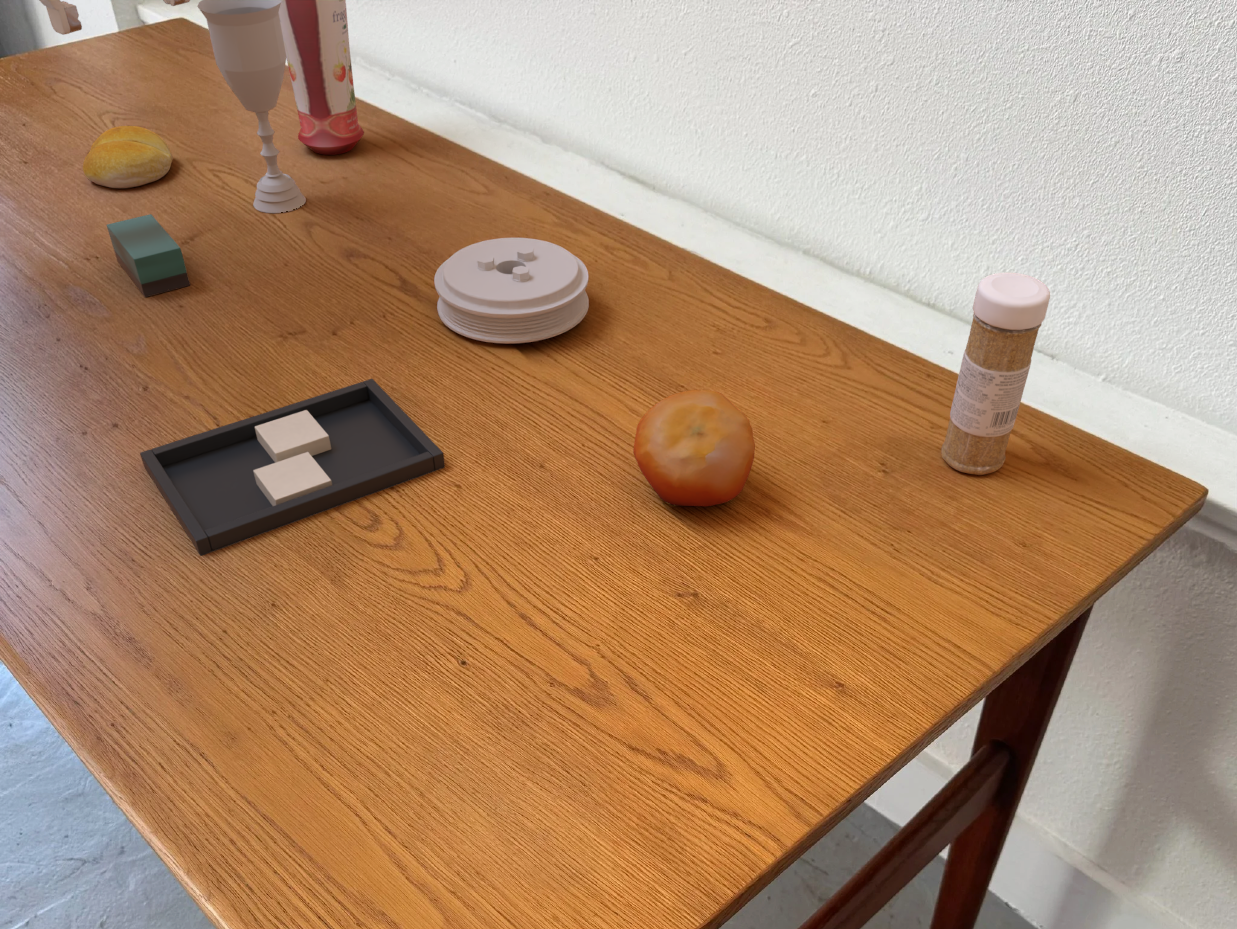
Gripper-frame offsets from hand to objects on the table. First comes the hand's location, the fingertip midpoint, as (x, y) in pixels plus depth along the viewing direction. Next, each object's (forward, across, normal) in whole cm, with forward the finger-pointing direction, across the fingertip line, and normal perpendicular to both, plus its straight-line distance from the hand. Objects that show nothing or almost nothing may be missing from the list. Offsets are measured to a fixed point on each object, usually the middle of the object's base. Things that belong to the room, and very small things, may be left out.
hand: (124, 16), depth 91 cm
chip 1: (+20, +11, +30) cm, 38 cm away
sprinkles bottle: (+21, -20, +67) cm, 73 cm away
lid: (+21, -13, +27) cm, 37 cm away
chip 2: (+20, +14, +34) cm, 42 cm away
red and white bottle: (+21, -26, -13) cm, 36 cm away
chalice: (+21, -14, -6) cm, 26 cm away
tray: (+21, +13, +32) cm, 40 cm away
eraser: (+21, +3, -2) cm, 21 cm away
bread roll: (+21, -8, -23) cm, 32 cm away
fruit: (+21, -4, +54) cm, 58 cm away
